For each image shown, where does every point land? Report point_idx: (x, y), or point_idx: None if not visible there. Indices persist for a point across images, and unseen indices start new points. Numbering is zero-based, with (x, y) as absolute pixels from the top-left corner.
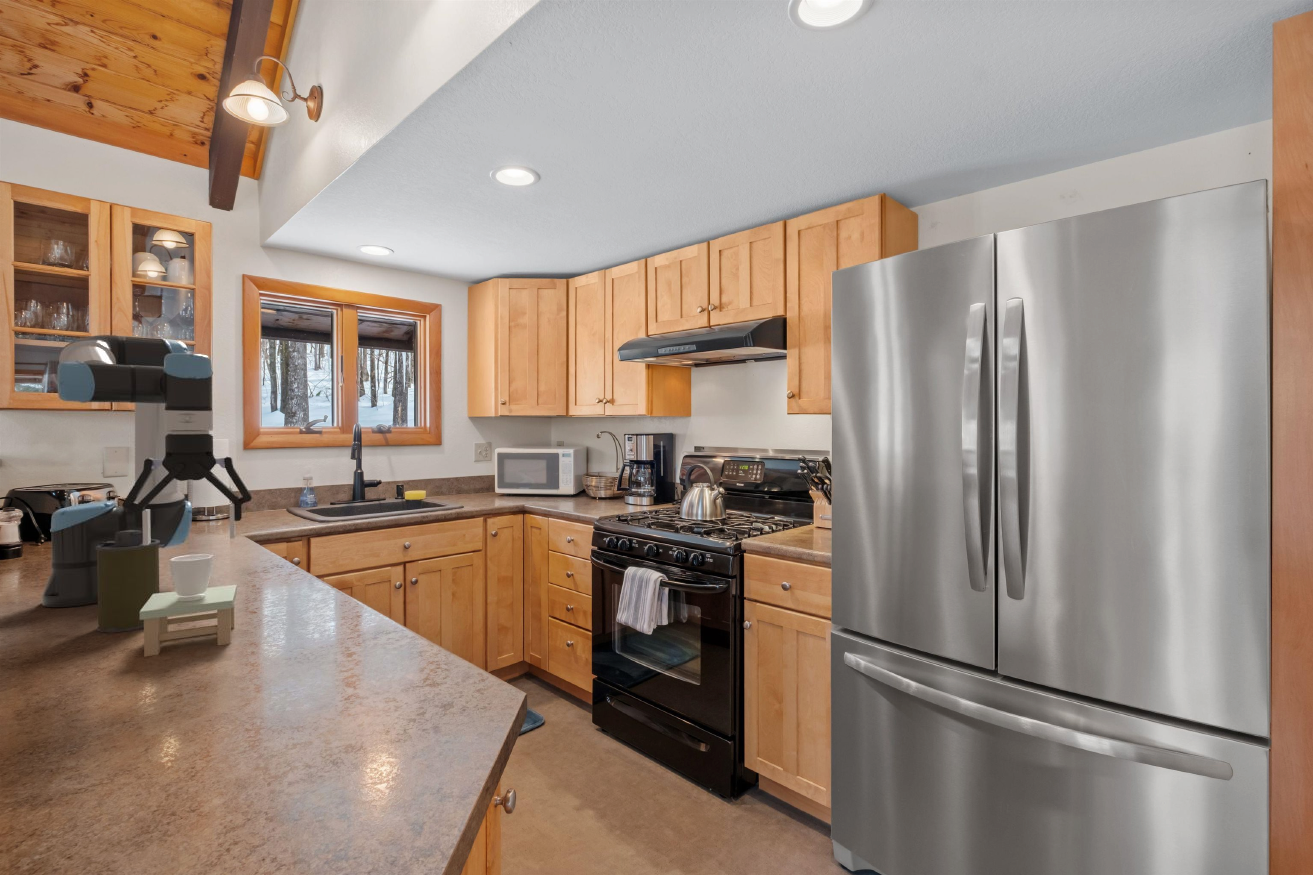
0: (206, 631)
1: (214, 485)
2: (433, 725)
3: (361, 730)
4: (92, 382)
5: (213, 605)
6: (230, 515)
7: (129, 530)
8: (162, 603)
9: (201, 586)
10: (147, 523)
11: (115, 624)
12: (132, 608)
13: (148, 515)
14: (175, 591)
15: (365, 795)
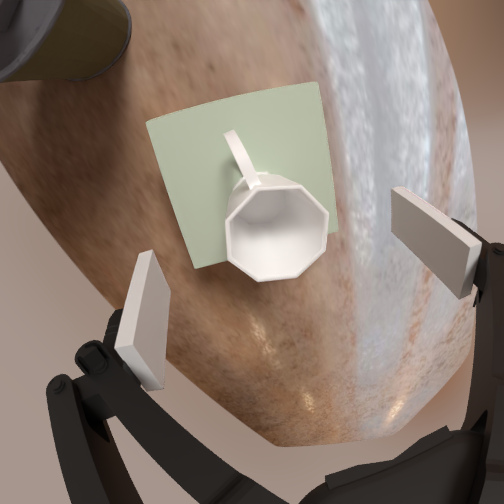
0: None
1: (471, 393)
2: (427, 381)
3: (399, 386)
4: None
5: None
6: (439, 275)
7: None
8: (209, 218)
9: (286, 219)
10: (164, 345)
11: (76, 78)
12: (91, 67)
13: (156, 356)
14: (189, 108)
15: (386, 419)
